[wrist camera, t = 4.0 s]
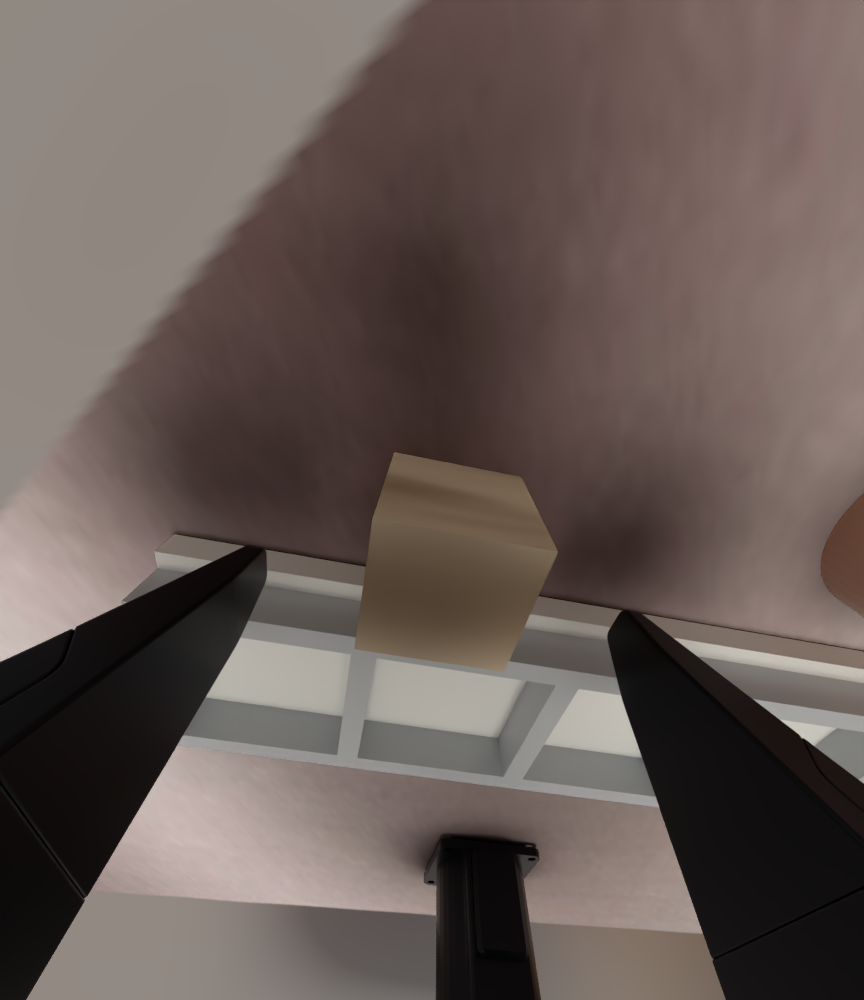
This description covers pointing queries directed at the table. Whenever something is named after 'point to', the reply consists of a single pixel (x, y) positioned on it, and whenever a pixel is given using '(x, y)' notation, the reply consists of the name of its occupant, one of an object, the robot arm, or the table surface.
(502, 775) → the board
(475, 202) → the table surface
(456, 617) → the beech block
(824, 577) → the terracotta mug
